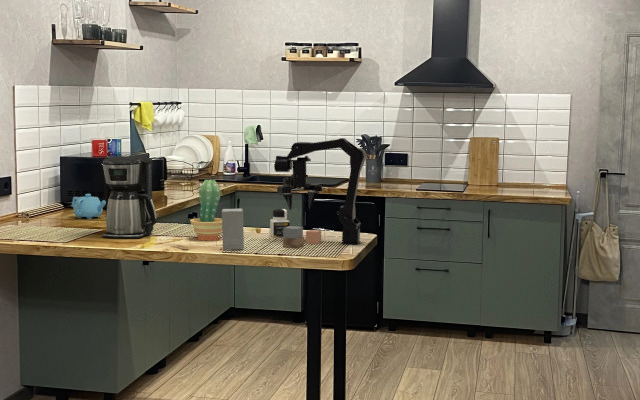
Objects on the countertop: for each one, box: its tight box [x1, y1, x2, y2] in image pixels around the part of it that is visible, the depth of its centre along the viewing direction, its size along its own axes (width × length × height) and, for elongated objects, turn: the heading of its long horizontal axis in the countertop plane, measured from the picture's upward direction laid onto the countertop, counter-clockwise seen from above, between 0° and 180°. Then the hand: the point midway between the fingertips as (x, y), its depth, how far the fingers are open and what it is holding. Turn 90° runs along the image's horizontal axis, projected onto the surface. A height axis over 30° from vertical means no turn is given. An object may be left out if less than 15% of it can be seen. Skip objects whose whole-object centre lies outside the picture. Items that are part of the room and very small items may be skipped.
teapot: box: [71, 193, 106, 220], centre depth 426 cm, size 20×17×12 cm
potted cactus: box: [190, 179, 222, 241], centre depth 365 cm, size 15×15×25 cm
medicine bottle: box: [269, 208, 291, 239], centre depth 376 cm, size 7×7×12 cm
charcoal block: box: [284, 225, 304, 239], centre depth 350 cm, size 6×6×4 cm
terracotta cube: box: [305, 229, 322, 245], centre depth 361 cm, size 5×5×5 cm
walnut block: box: [282, 236, 305, 249], centre depth 350 cm, size 6×6×4 cm
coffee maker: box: [101, 155, 158, 239], centre depth 375 cm, size 23×32×34 cm
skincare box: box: [221, 208, 245, 251], centre depth 342 cm, size 8×7×16 cm
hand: (300, 209), depth 365 cm, fingers open, 9 cm apart
